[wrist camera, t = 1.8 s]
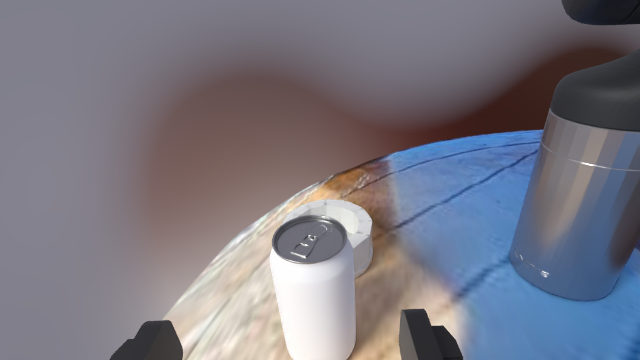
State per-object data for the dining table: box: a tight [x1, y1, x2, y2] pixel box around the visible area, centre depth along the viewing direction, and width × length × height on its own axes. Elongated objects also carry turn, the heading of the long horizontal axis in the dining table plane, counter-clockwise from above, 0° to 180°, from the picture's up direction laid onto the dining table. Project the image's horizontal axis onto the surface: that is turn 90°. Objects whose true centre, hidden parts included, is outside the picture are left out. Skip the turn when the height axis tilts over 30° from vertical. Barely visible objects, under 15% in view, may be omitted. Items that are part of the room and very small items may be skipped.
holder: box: [282, 199, 373, 279], centre depth 38 cm, size 11×11×4 cm
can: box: [270, 215, 356, 360], centre depth 26 cm, size 6×6×12 cm
